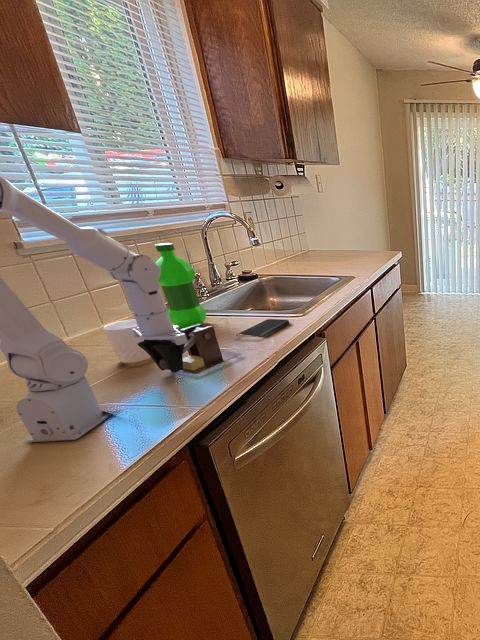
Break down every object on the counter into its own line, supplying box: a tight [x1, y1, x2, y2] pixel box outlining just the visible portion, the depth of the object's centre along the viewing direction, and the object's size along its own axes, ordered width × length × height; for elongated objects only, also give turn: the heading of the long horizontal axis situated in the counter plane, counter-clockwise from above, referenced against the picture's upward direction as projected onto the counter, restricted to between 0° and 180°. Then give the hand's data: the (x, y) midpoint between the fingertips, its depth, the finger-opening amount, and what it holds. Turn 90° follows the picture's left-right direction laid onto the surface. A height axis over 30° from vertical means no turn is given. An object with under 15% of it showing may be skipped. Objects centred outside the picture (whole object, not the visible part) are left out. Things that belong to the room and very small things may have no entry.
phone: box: [235, 318, 290, 339], centre depth 119 cm, size 8×1×15 cm
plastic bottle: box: [154, 242, 207, 329], centre depth 119 cm, size 10×10×25 cm
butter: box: [183, 355, 205, 370], centre depth 94 cm, size 3×4×2 cm
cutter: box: [160, 327, 201, 371], centre depth 91 cm, size 12×3×3 cm, turn 160°
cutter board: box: [180, 324, 242, 375], centre depth 95 cm, size 12×9×10 cm
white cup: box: [102, 318, 152, 364], centre depth 98 cm, size 8×8×10 cm
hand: (172, 369), depth 90 cm, fingers closed on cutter, 3 cm apart
